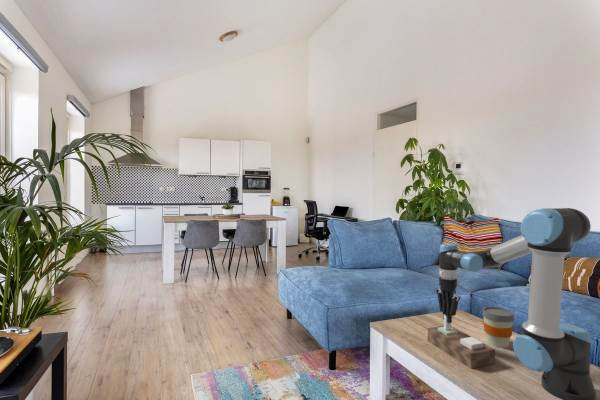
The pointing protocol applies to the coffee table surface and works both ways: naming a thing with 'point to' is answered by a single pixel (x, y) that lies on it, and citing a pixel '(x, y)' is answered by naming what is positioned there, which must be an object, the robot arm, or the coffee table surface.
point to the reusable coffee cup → (498, 326)
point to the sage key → (447, 331)
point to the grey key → (471, 343)
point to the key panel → (461, 348)
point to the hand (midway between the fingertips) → (447, 328)
